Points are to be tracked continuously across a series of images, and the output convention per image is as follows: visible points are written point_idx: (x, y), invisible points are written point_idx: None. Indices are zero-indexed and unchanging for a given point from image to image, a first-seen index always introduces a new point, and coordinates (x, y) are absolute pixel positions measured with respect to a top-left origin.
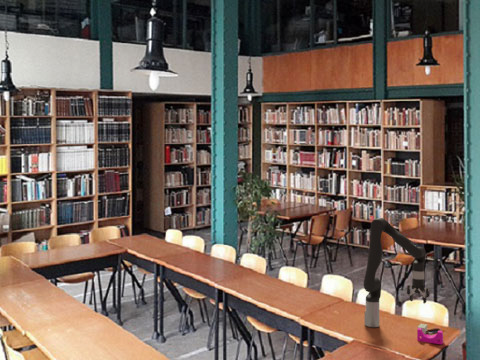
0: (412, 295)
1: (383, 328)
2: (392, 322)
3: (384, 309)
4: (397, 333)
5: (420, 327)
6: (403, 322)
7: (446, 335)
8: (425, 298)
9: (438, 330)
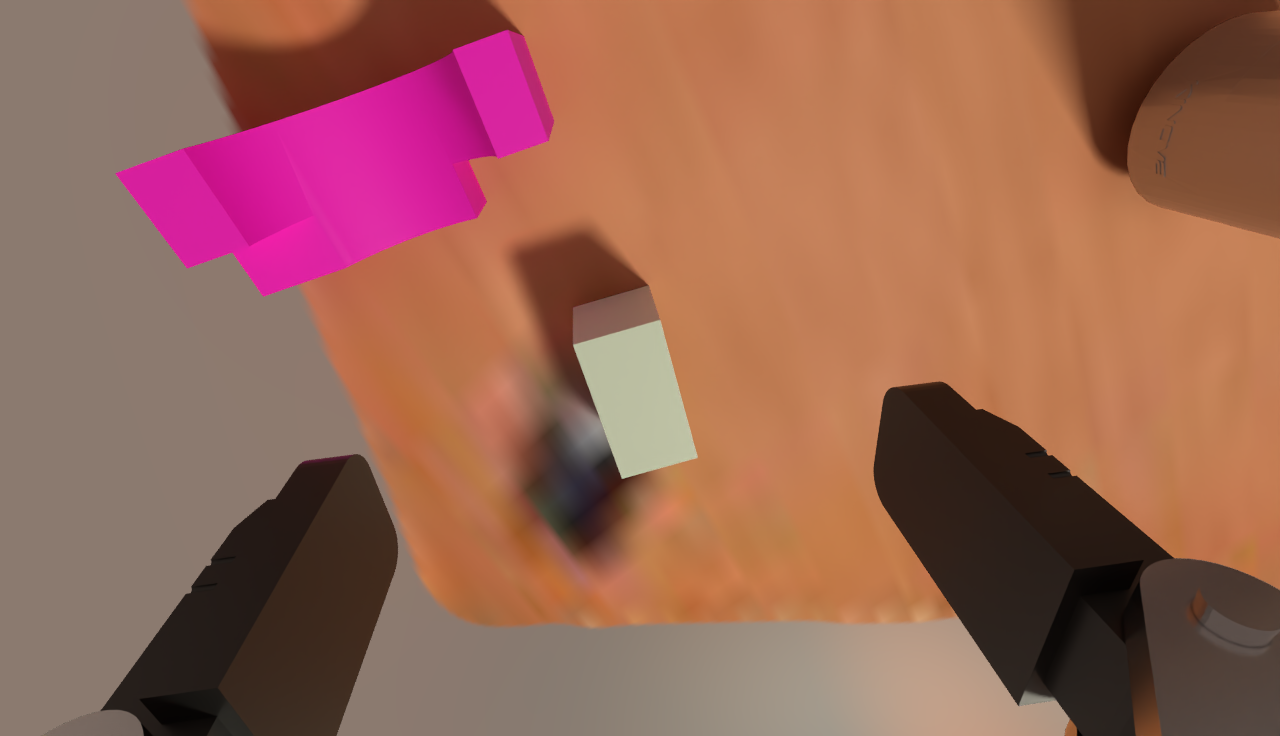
0: (1029, 670)
1: (1050, 199)
2: None
3: None
4: (851, 140)
5: (625, 331)
6: None
7: (415, 454)
8: (115, 706)
9: (245, 244)
